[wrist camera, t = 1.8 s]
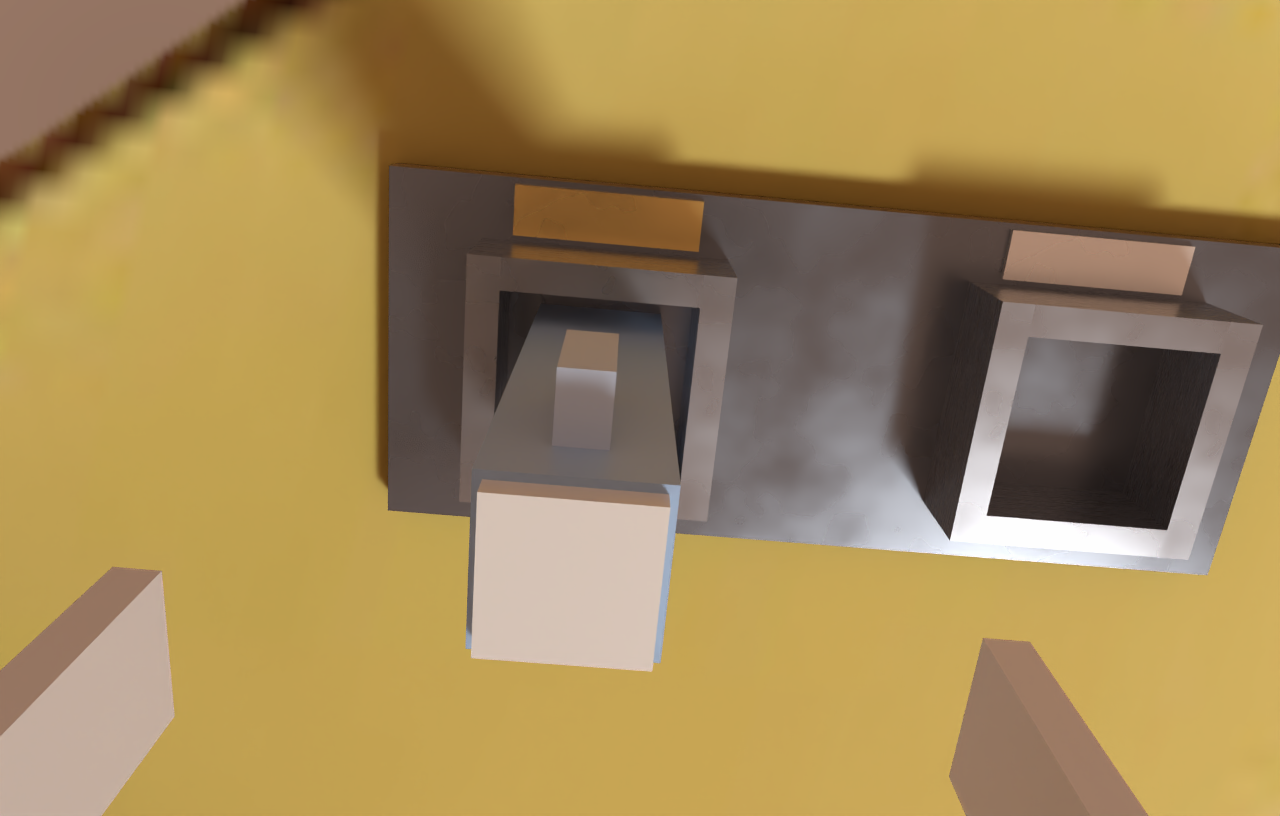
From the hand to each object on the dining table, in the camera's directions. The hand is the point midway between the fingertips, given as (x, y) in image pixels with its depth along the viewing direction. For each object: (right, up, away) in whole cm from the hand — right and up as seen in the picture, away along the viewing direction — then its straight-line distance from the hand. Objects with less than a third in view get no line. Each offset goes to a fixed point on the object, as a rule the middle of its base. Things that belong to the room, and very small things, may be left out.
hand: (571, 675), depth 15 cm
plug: (0, +6, +17) cm, 18 cm away
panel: (+8, +5, +18) cm, 20 cm away
